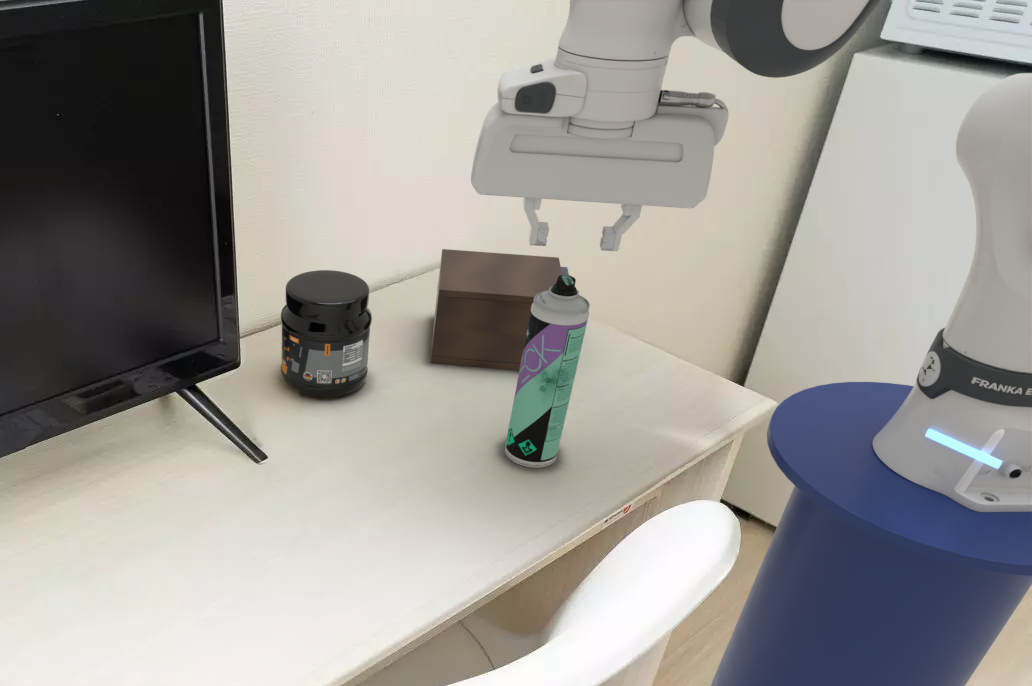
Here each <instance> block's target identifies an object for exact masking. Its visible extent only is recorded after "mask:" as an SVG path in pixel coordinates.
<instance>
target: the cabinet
mask: <svg viewBox="0 0 1032 686" xmlns="http://www.w3.org/2000/svg"><path fill="white" fill-rule="evenodd" d="M440 256H441V257H440V264H439V272H438V273H439V274H438V280H437V281H438V282H437V291H436V299H435V305H434V306H435V308H434V315H433V325H432V326H433V327H432V338H431V350H430V363H432V364H441V365H454V366H467V367H477V368H487V369H488V368H489V369H500V370H511V371H519V370H520V364H521V359H522V353H523V348H524V343H525V337H526V332H527V327H528V321H529V316H530V310H531V306H532V304H533V303H534V302H533V301H534V297H535V296H536V295H537V294H539V293H541V292H545V291H548V290H549V288H550V287H552V286H554V285H555V284H556V282H557V278H558V276H560V275H562V272H561V267H562V266H561V262H560V258H559V256H558V257H557V256H543V255H541V256H540V255H528V254H514V253H499V252H489V251H488V252H487V251H473V250H461V249H449V248H448V249H446V248H442V249H441V255H440Z"/></svg>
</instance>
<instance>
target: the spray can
mask: <svg viewBox="0 0 1032 686" xmlns="http://www.w3.org/2000/svg"><path fill="white" fill-rule="evenodd" d="M576 281H577V279H576V277H574V276H572V275H570V274H569V275H560V276H558V278H557V282H556V284H555V285H554V286H552V287H550V288H549V290H548V291H545V292H541V293H539V294H537V295H536V296H535V297H534V301H533V302H534V303H533V304H532V306H531V310H530V316H529V321H528V327H527V332H526V337H525V343H524V348H523V353H522V359H521V364H520V370H518V375H517V381H516V386H515V392H514V397H513V403H512V407H511V413H510V418H509V423H508V429H507V435H506V440H505V445H504V453H505V456H506V457H507V458H508V459H509V460H510V461H512V462H513V463H515V464H517V465H520V466H522V467H527V468H533V469H536V468H538V469H539V468H545V467H549V466H550V465H552V464H554V463H555V461H556V460H557V457H558V453H559V448H560V443H561V439H562V435H563V430H564V426H565V422H566V417H567V412H568V409H569V405H570V400H571V397H572V390H573V387H574V382H575V377H576V372H577V368H578V365H579V364H578V363H579V361H580V356H581V352H582V347H583V342H584V337H585V334H586V329H587V325H588V322H589V316H590V311H589V310H590V307H591V304H590V302H589V301H588V300H587V299H586V298H585V297H584V296H582V295H580V290H578V289H577V287H576Z"/></svg>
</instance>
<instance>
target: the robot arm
mask: <svg viewBox="0 0 1032 686" xmlns="http://www.w3.org/2000/svg"><path fill="white" fill-rule="evenodd" d="M881 1H882V0H569V8H568V9H569V10H568V16H567V20H566V24H565V25H564V28H563V29H562V30H563V31H562V33H561V34H560V37H559V41H558V45H557V50H556V56H554V57H551V58H547V59H544V60H540V61H537V62H534V63H529V64H525V65H521V66H518V67H514V68H511V69H508V70H505V71H504V72H503V73H502V74H501V76H500V78H499V81H498V85H497V90H496V91H497V102H496V103H495V104H494V105H493V106H491V107H490V109H489V110H488V112H487V114H486V115H485V118H484V120H483V122H482V126H481V127H480V128H481V129H480V133H479V135H478V138H477V143H476V147H475V150H474V155H473V161H472V166H471V172H470V173H471V174H470V184H471V186H472V187H473V189H474V190H475V192H476V194H478V195H482V196H496V197H508V198H509V197H510V198H523V200H522V201H523V202H522V204H523V210H524V212H525V215H526V218H527V220H528V222H529V225H530V231H529V236H528V237H529V240H528V244H529V246H532V247H533V246H536V247H537V246H539V247H546V246H547V243H548V239H547V237H548V236H549V232H550V226H549V222H548V221H540V220H539V218H538V214H537V212H536V211H539V210H540V209H541V204H542V200H555V201H569V202H570V201H571V202H582V203H583V202H585V203H601V204H613V205H614V204H617V205H620V208H621V211H622V214H621V215H620V216H619V218H618V219H617V220H616V222H614V224H613V225H612V226H610V225H609V226H607V225H603V227H602V232H601V234H602V236H601V237H600V240H599V248H600V251H605V252H619V248H620V245H621V241H622V237H623V235H624V234H625V233H626V232H627V231H628V230H629V229H630V228H631V227H632V226H633V224H634V223H635V222H636V221H638V219H639V218H640V215H641V212H642V209H643V208H642V207H643V206H647V207H661V208H675V209H676V208H677V209H695V208H696V207H697V206H698V205H700V204H701V203H702V202H703V201H704V200H705V199H706V198H707V194H708V190H709V186H710V181H711V176H712V170H713V164H714V156H715V155H714V153H715V147H716V146H717V145H718V144H719V143H720V141H721V140H722V139H723V137H724V134H725V131H726V127H727V123H728V120H729V110H728V105H726V103H725V102H724V101H723V100H721V99H720V98H716V94H715V93H713V92H705V91H701V92H697V93H696V92H686V91H681V90H670V89H669V90H668V89H662V87H663V83H664V78H665V74H666V70H667V66H668V62H669V58H670V54H671V49H672V46H673V44H674V43H675V41H677V39H679V38H682V37H692V38H695V39H696V40H699V41H700V42H701V43H704V45H707V46H709V47H711V48H713V49H715V50H718V51H720V52H722V53H724V54H726V55H727V56H728V57H729V58H730V59H732V60H733V61H735V62H736V63H737V64H739V65H740V66H741V67H742V68H744V69H745V70H747V71H749V72H750V73H753V74H754V75H757V76H760V77H766V78H774V79H777V78H788V77H792V76H796V75H800V74H803V73H806V72H808V71H810V70H812V69H814V68H816V67H818V66H819V65H821V64H823V63H824V62H826V61H827V60H829V59H830V58H831V57H832V56H834V55H835V54H837V52H839V51H840V50H841V49H842V48H844V46H845V45H846V44H847V43H848V42H849V41H850V40H851V39H852V38H853V37H854V35H856V33H857V32H858V31H859V30H860V29H861V28H862V26H863V25H864V23H865V22H866V21H867V20H868V18H869V17H870V16H871V14H872V13H873V12H874V11H875V9H876V8H877V7H878V5H879V4H880V3H881ZM714 105H717V106H714ZM955 155H956V159H957V163H958V165H959V167H960V168H961V170H962V172H963V173H964V175H965V177H966V179H967V181H968V184H969V187H970V189H971V193H972V197H973V202H974V209H975V222H976V223H975V224H976V225H975V226H976V227H975V245H974V253H973V258H972V261H971V264H970V269H969V271H968V274H967V277H966V279H965V281H964V284H963V287H962V289H961V291H960V294H959V295H958V298H957V301H956V303H955V305H954V307H953V310H952V312H951V314H950V317H949V318H948V320H947V323H946V325H945V326H944V327H943V328H941V329H940V330H939V331H938V332H937V334H936V335H935V337H934V339H933V341H932V343H931V344H930V347H929V349H928V351H927V353H926V355H925V357H924V359H923V362H922V363H921V366H920V368H919V370H918V373H917V377H916V381H915V383H914V385H913V386H914V387H913V389H912V390H911V392H910V393H909V395H908V396H907V398H906V399H905V401H904V402H903V404H902V405H901V406H900V408H899V409H898V411H897V412H896V413H895V415H894V416H893V417H892V418H891V419H890V421H889V422H888V423H887V424H886V425H885V426H884V427H883V429H882V430H881V431H880V432H879V433H878V434H876V436H875V437H874V439H873V449H874V451H875V453H876V455H877V456H878V457H879V459H880V460H881V461H882V462H883V463H884V464H885V465H887V466H888V467H889V468H890V469H892V470H893V471H894V472H896V473H898V474H899V475H901V476H902V477H904V478H906V479H908V480H910V481H912V482H914V483H916V484H918V485H921V486H923V487H925V488H928V489H931V490H933V491H936V492H939V493H941V494H943V495H946V496H948V497H949V498H951V499H953V500H954V501H956V502H958V503H959V504H961V505H963V506H965V507H967V508H969V509H971V510H974V511H978V512H1032V72H1020V73H1014V74H1012V75H1009V76H1006V77H1005V78H1003V79H1001V80H999V81H998V82H997V83H995V84H993V85H992V86H990V87H989V88H987V90H986V91H984V93H982V94H981V95H980V96H979V97H978V98H977V99H976V100H975V101H974V102H973V104H971V106H970V108H969V109H968V111H967V113H966V114H965V116H964V117H963V120H962V121H961V123H960V126H959V128H958V131H957V136H956V141H955Z"/></svg>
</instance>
